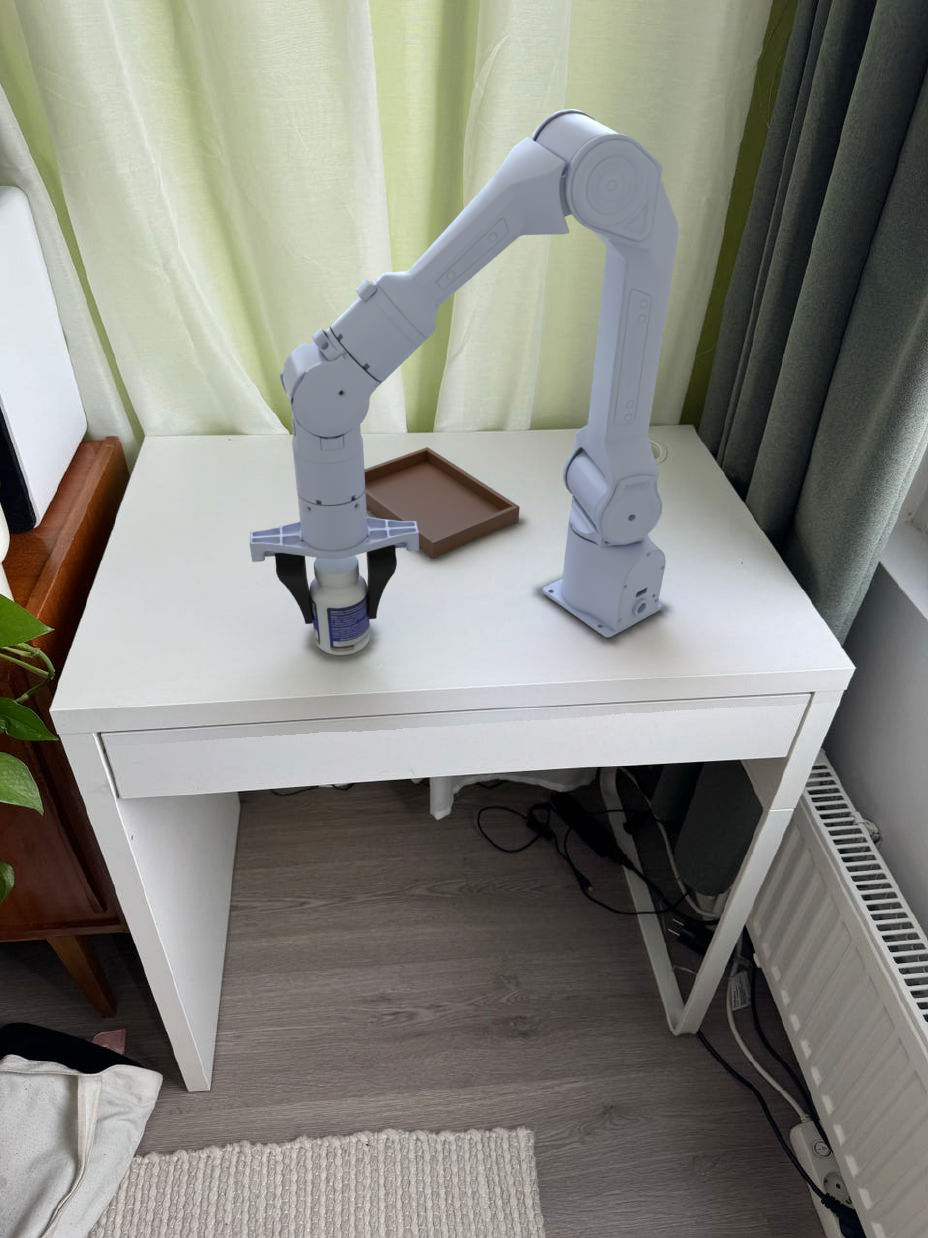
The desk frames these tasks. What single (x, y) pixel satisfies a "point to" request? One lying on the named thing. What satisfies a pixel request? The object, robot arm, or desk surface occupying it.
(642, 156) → the robot arm
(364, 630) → the pill bottle
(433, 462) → the tray
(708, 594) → the desk surface
